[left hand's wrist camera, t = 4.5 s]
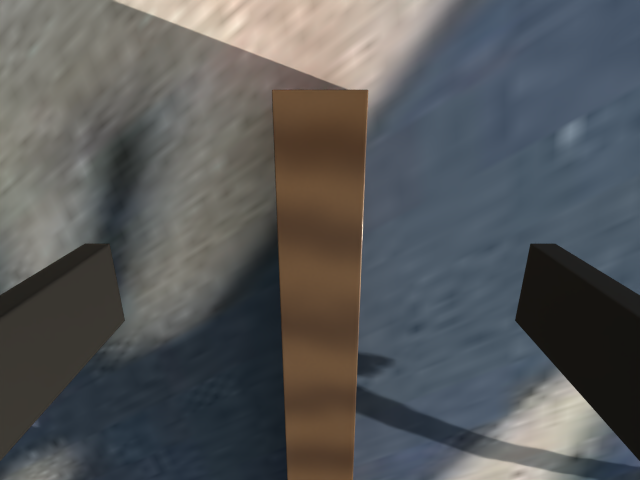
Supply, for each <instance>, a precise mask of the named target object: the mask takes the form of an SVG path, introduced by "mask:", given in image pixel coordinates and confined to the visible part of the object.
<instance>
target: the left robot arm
mask: <svg viewBox="0 0 640 480" xmlns="http://www.w3.org/2000/svg"><path fill="white" fill-rule="evenodd" d="M124 321H125V319H124V314H123V309H122V304H121V299H120V294H119V289H118V284H117V279H116V274H115V269H114V264H113V259H112V254H111V249H110V244H84V245H82V246H80V247H79V248H77V249H75V250H74V251H72V252H71V253H69V254H67V255H66V256H64V257H62V258H61V259H59V260H57V261H56V262H54V263H52V264H51V265H49V266H48V267H46V268H44V269H43V270H41V271H39V272H38V273H36V274H34V275H33V276H31V277H29V278H28V279H26V280H25V281H23V282H21V283H20V284H18V285H16V286H15V287H13V288H11V289H10V290H8V291H7V292H5V293H3V294H2V295H0V461H1V460H2V458H3V457H4V456H5V455H6V454H7V453H8V452H9V451H10V449H11V448H12V447H13V446H14V445H15V444H16V443H17V442H18V440H19V439H20V438H21V437H22V436H23V435H24V434H25V433H26V431H27V430H28V429H29V428H30V427H31V426H32V425H33V424H34V422H35V421H36V420H37V419H38V418H39V417H40V416H41V414H42V413H43V412H44V411H45V410H46V409H47V408H48V407H49V405H50V404H51V403H52V402H53V401H54V400H55V399H56V398H57V396H58V395H59V394H60V393H61V392H62V391H63V390H64V389H65V387H66V386H67V385H68V384H69V383H70V382H71V381H72V380H73V378H74V377H75V376H76V375H77V374H78V373H79V372H80V371H81V369H82V368H83V367H84V366H85V365H86V364H87V363H88V361H89V360H90V359H91V358H92V357H93V356H94V355H95V354H96V352H97V351H98V350H99V349H100V348H101V347H102V346H103V345H104V343H105V342H106V341H107V340H108V339H109V338H110V337H111V336H112V334H113V333H114V332H115V331H116V330H117V329H118V328H119V327H120V325H121V324H122V323H123V322H124ZM515 321H516V322H517V323H518V324H519V325H520V327H521V328H522V329H523V330H524V331H525V332H526V333H527V334H528V336H529V337H530V338H531V339H532V340H533V341H534V342H535V343H536V345H537V346H538V347H539V348H540V349H541V350H542V351H543V352H544V354H545V355H546V356H547V357H548V358H549V359H550V360H551V361H552V363H553V364H554V365H555V366H556V367H557V368H558V369H559V371H560V372H561V373H562V374H563V375H564V376H565V377H566V378H567V380H568V381H569V382H570V383H571V384H572V385H573V386H574V387H575V389H576V390H577V391H578V392H579V393H580V394H581V395H582V396H583V398H584V399H585V400H586V401H587V402H588V403H589V404H590V405H591V407H592V408H593V409H594V410H595V411H596V412H597V413H598V414H599V416H600V417H601V418H602V419H603V420H604V421H605V422H606V424H607V425H608V426H609V427H610V428H611V429H612V430H613V431H614V433H615V434H616V435H617V436H618V437H619V438H620V439H621V440H622V442H623V443H624V444H625V445H626V446H627V447H628V448H629V449H630V451H631V452H632V453H633V454H634V455H635V456H636V457H637V458H638V460H639V461H640V295H638V294H637V293H635V292H633V291H632V290H630V289H629V288H627V287H625V286H624V285H622V284H620V283H619V282H617V281H615V280H614V279H612V278H611V277H609V276H607V275H606V274H604V273H602V272H601V271H599V270H597V269H596V268H594V267H592V266H591V265H589V264H588V263H586V262H584V261H583V260H581V259H579V258H578V257H576V256H574V255H573V254H571V253H569V252H568V251H566V250H565V249H563V248H561V247H560V246H558V245H556V244H530V249H529V254H528V259H527V264H526V269H525V274H524V279H523V284H522V289H521V294H520V299H519V304H518V309H517V314H516V319H515Z"/></svg>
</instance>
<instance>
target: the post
mask: <svg viewBox="0 0 640 480" xmlns="http://www.w3.org/2000/svg"><path fill="white" fill-rule="evenodd" d="M272 105H273V130H274V155H275V180H276V205H277V230H278V255H279V280H280V305H281V330H282V355H283V381H284V406H285V431H286V456H287V480H353V459H354V434H355V409H356V384H357V359H358V334H359V309H360V284H361V259H362V234H363V209H364V184H365V159H366V134H367V109H368V90H272Z"/></svg>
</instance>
